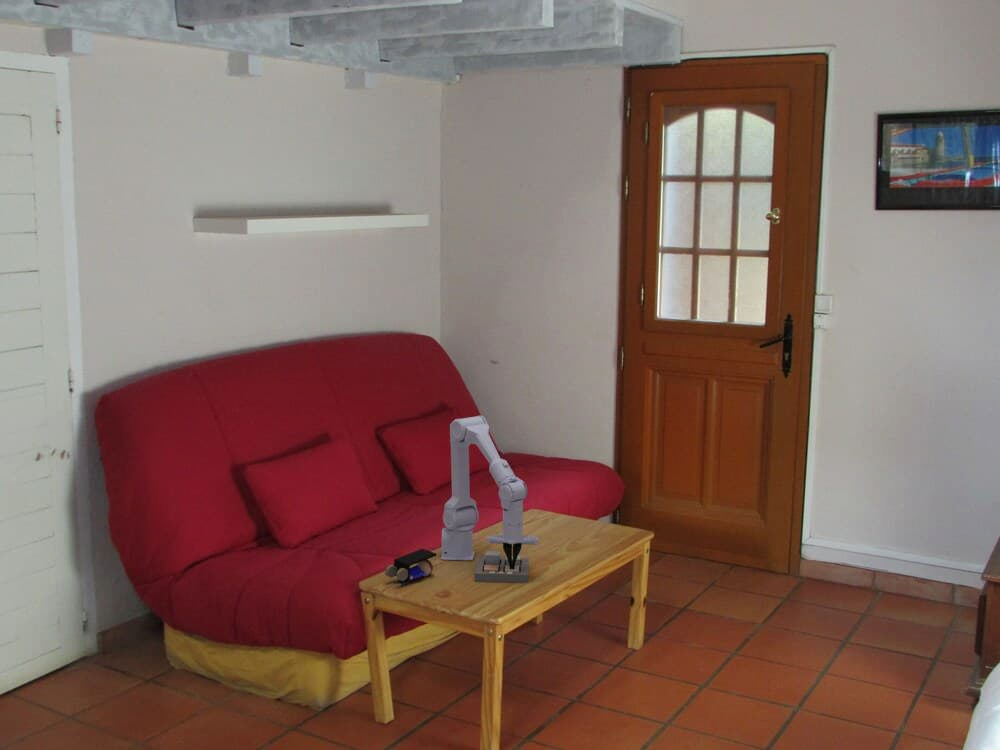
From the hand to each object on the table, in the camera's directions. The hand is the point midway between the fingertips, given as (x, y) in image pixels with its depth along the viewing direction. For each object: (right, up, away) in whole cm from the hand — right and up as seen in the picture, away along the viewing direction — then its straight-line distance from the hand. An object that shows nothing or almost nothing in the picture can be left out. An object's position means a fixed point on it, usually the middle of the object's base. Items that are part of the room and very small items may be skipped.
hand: (512, 568), depth 330 cm
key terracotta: (-6, -2, +1) cm, 6 cm away
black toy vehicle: (-29, -3, -2) cm, 29 cm away
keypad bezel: (-3, -2, +4) cm, 5 cm away
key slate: (-6, 0, +6) cm, 9 cm away
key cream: (0, -2, 0) cm, 2 cm away
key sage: (0, -1, +6) cm, 6 cm away
